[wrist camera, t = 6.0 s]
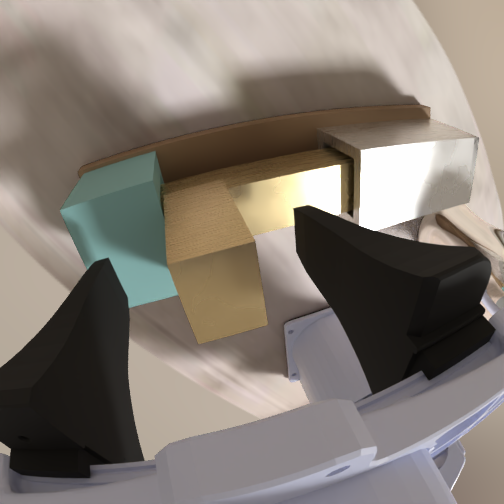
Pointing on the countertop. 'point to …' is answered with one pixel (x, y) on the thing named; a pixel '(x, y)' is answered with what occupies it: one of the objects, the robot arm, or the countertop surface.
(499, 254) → the beer glass
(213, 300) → the wooden l-shaped block
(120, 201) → the teal rectangular block
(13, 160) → the countertop surface
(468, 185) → the white rectangular block
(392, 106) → the board
